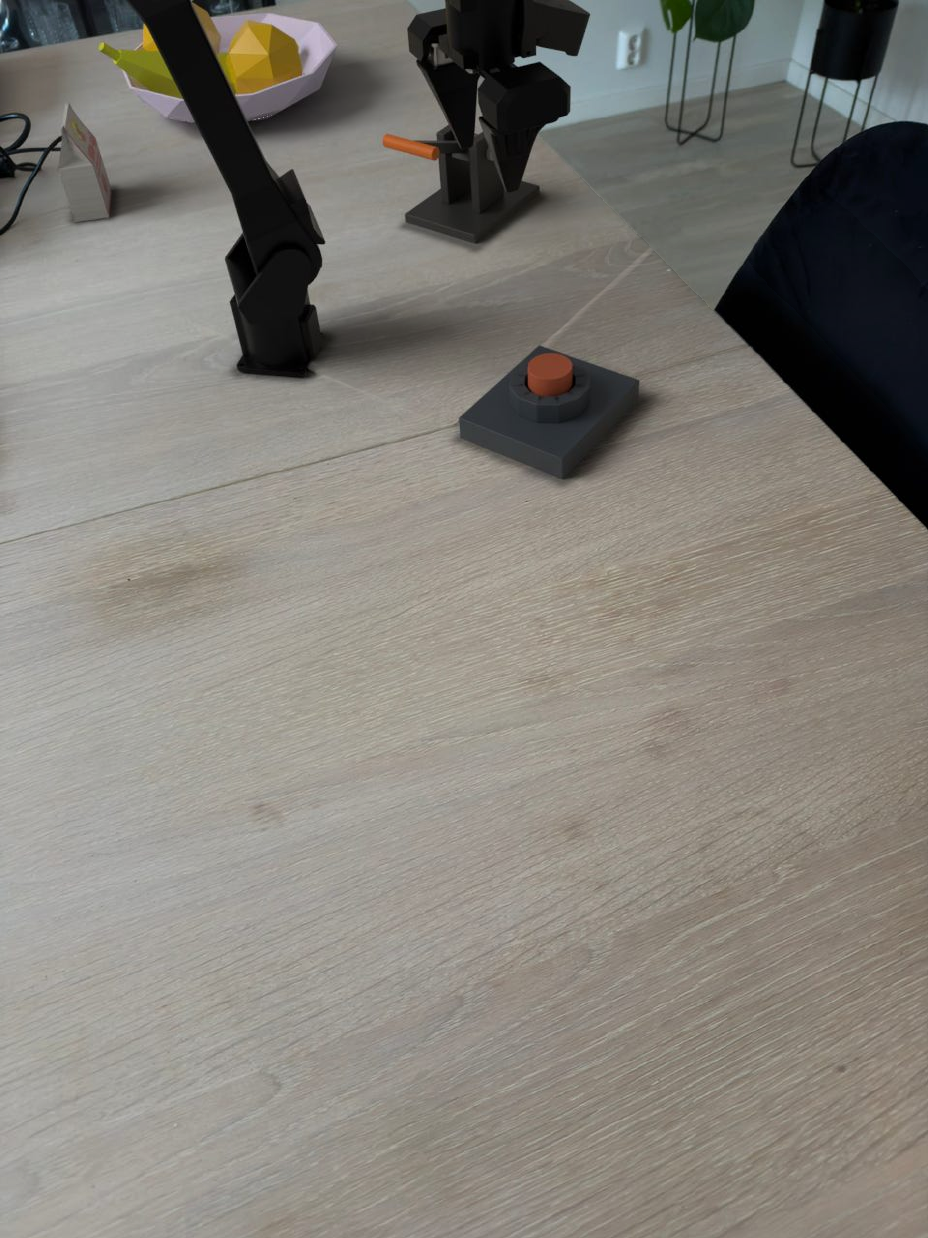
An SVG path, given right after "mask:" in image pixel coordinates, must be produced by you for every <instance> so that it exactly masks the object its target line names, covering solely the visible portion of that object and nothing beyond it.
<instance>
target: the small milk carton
mask: <svg viewBox="0 0 928 1238" xmlns="http://www.w3.org/2000/svg"><path fill="white" fill-rule="evenodd" d="M62 115H63V116H62V121H61V127H60V128H61V129H60V131H61V133H60V134H61V141H60V151H59V157H58V164H57V169H56V170H57V172H58V175H59V179H60V182H61V184H62V187H63V189H64V190H63V191H64V193H65V196H66V199H67V202H68V204H69V208H70V210H71V213H72V216H73V219H74V222H75V223H81V222H86V221H94V220H100V219H101V220H102V219H107V218H110V214H111V203H112V202H111V201H112V190H113V189H112V186H111V183H110V180H109V177H108V174H107V169H106V167H105V164H104V160H103V157H102V155H101V151H100V148H99V145H98V141H97V137H96V136H95V135H94V134H93V132H92V131H90V129H89V128H88V127H87V125H86V124H85V123H84V122H83V121H82V119H81V118H80V117H79V116H78V115H77V113H76V112H75V110H74V109H73V107H72V105H71V103H70V102H69V101H68V102H67V103H66V102H64V109H63V114H62Z"/></svg>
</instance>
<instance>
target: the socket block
mask: <svg viewBox="0 0 928 1238" xmlns="http://www.w3.org/2000/svg"><path fill="white" fill-rule="evenodd" d="M546 353H555V354H560V355H563V356H565V357H567V358H568V359H569V360H570V361H571V362H572V365H573V371H572V387H571V388H570V390H569V391H568V392H566V393H564V394H561V395H558V396H540V395H537V394H535V393H533V392H532V391H531V390H530V389H529V387H528V364H529V362H530V361H531V359H533V358H534V357H536V356H538V355H541V354H546ZM639 393H640V380H639V379H637V378H634V377H631V376H628V375H626V374H623V373H620V372H617V371H614V370H611V369H609V368H606V367H603V366H600V365H597V364H594V363H591V362H588V361H585V360H583V359H580V358H577V357H575V356H572V355H570V354H569V355H568V354H565V353H562V352H560V351H557V350H554V349H552V348H549V347H546V346H543V345H540V344H539V345H538V346H536V348H534V349H533V350H532V351H531V352H530V353H529V354H528V355H527V356H526V357H524V359H522V360H521V361H520V362H519V363H518V364H517V365H516V366H514V367H513V368H512V369H511V370H510V371H509V372H508V373H506V375H504V376H503V377H502V378H501V379H499V381H498V382H497V383H496V384H495V385H493V386H492V387H491V388H490V389H489V390H488V391H487V392H486V393H484V394H483V396H481V397H480V398H479V399H478V400H477V401H475V403H474V404H473V405H471V406H470V407H469V408H468V409H467V410H466V411H465V412H464V413H462V415H460V416H459V417H458V424H459V437H460V439H462V440H464V441H467V442H469V443H471V444H474V445H476V446H479V447H481V448H484V449H486V450H489V451H491V452H492V453H493V452H494V453H496V454H498V455H501V456H504V457H505V458H507V459H511V460H513V461H515V462H518V463H520V464H522V465H525V466H527V467H530V468H532V469H534V470H537V471H540V472H542V473H545V474H547V475H550V476H552V477H554V478H557V479H559V480H564V479H565V478H566V477H567V475H569V473H571V472H572V471H573V469H574V468H575V467H577V465H578V464H579V463H580V462H581V461H582V460H583V459H584V458H585V457H586V456H587V455H588V454H589V453H590V452H591V450H593V448H595V447H596V445H598V443H599V442H600V441H602V439H603V438H604V437H605V436H606V435H607V434H608V433H609V431H611V430H612V429H613V428H614V427H615V426H616V425H617V423H619V421H621V419H623V417H625V415H626V414H627V413H628V412H629V411H630V410H631V409H632V408H633V407H634V406H635V405H636V404H637V403H638V402H639V395H640V394H639Z"/></svg>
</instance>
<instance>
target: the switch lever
mask: <svg viewBox="0 0 928 1238" xmlns="http://www.w3.org/2000/svg"><path fill="white" fill-rule="evenodd" d="M478 134H479V133H476V132H475V133H474V137H476V136H477V135H478ZM381 143H382V146H383V147H384V148H387V149H391V150H393V151H397V152H401V153H404V154H405V153H406V154H408V155H412V156H416V157H420V158H423V159H426V160H430V161H433V162H434V161H435V162H436V161H438V157H439V154H448V153H452V157H453V158H456V159H460V160H464V161H467V162H470V159H469V148H468V149H461V148H460V146H459V144H458V142H457V140H456V138H454V141H437V140H423V139H422V140H420V139H419V140H415V139H414V140H413V139H408V138H405V137H401V136H397V135H394V134H390V133H386V134H384V135H383V137H382V142H381Z"/></svg>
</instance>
